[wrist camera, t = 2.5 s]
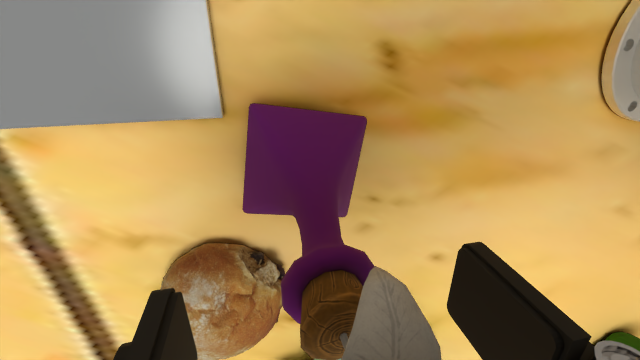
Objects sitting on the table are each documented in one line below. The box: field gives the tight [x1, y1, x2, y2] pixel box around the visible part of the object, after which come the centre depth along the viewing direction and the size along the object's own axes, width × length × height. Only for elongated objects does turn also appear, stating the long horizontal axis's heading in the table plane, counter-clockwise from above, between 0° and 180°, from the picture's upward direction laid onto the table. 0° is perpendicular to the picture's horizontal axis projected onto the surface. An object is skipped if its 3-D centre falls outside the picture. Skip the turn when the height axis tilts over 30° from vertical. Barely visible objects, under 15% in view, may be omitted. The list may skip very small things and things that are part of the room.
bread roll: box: [161, 243, 285, 360], centre depth 25 cm, size 10×10×8 cm
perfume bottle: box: [243, 103, 441, 360], centre depth 15 cm, size 8×8×18 cm
